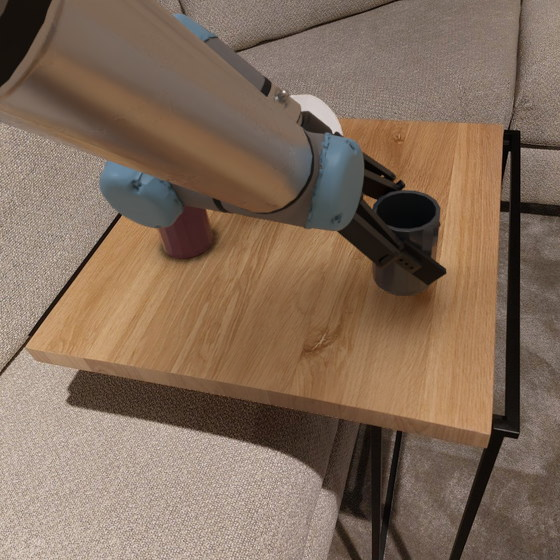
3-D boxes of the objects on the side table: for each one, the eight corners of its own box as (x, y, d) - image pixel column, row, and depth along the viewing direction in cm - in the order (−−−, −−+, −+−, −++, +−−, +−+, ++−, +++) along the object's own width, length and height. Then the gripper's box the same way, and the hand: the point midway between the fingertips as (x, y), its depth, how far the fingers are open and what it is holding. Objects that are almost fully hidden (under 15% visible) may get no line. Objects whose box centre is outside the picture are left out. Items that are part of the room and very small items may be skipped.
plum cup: (189, 265, 83) (172, 208, 76) (153, 248, 87) (133, 193, 80) (223, 235, 87) (209, 179, 80) (187, 220, 90) (171, 165, 84)
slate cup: (416, 304, 68) (421, 239, 61) (361, 282, 72) (359, 218, 65) (445, 266, 72) (451, 201, 65) (391, 247, 76) (392, 183, 69)
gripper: (296, 172, 51) (470, 300, 59) (313, 67, 65) (451, 182, 74) (246, 221, 55) (414, 333, 64) (272, 113, 70) (406, 216, 78)
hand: (434, 252), depth 69 cm, fingers closed on slate cup, 7 cm apart
